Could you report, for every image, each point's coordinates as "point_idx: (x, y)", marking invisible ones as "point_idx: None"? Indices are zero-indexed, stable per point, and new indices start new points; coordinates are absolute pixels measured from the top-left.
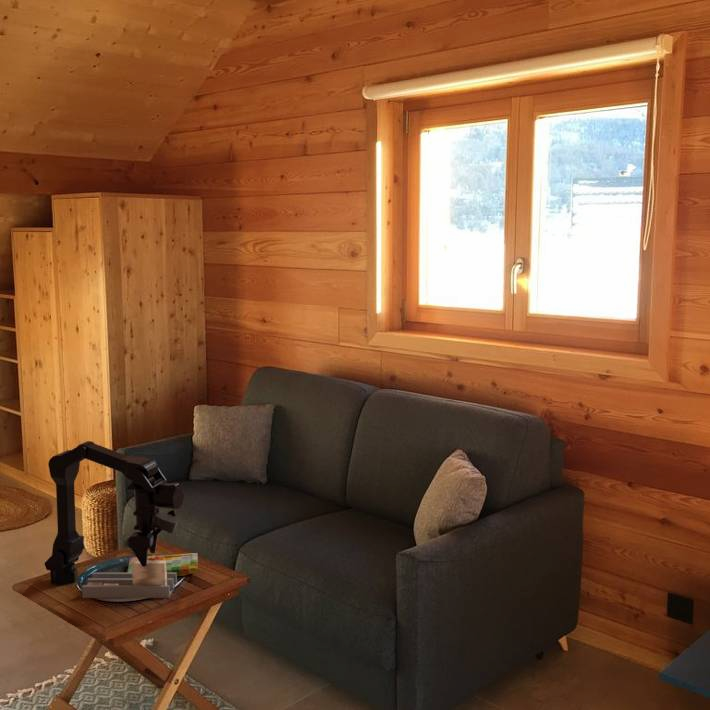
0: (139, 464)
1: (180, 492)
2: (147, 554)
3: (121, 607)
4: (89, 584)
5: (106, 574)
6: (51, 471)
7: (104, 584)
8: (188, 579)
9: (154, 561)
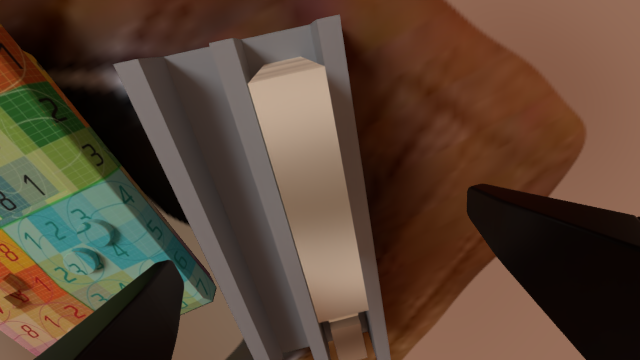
0: None
1: None
2: (631, 228)
3: (396, 197)
4: (355, 354)
5: (268, 354)
6: None
7: (336, 318)
8: (32, 41)
9: (299, 183)
